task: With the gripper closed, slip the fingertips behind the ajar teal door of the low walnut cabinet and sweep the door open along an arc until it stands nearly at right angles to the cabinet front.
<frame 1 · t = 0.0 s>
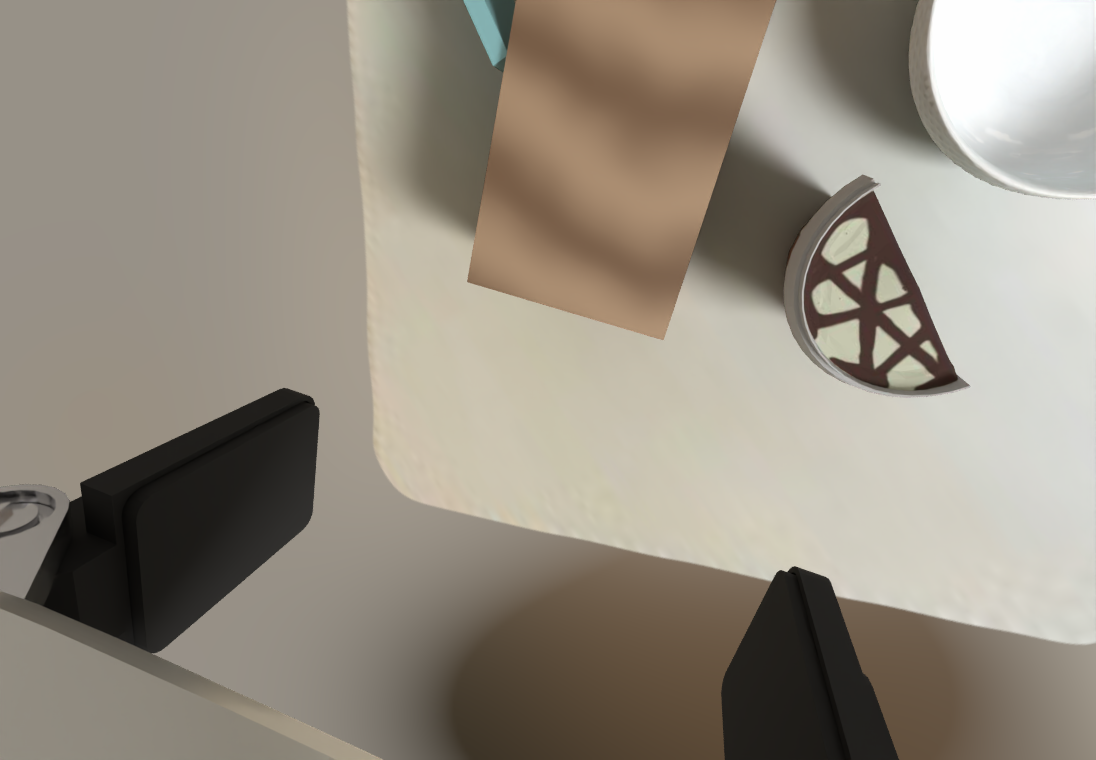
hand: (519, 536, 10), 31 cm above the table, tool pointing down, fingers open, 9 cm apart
cereal bowl: (1049, 36, 29), on the table
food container: (817, 286, 36), on the table
cabinet: (639, 109, 35), on the table
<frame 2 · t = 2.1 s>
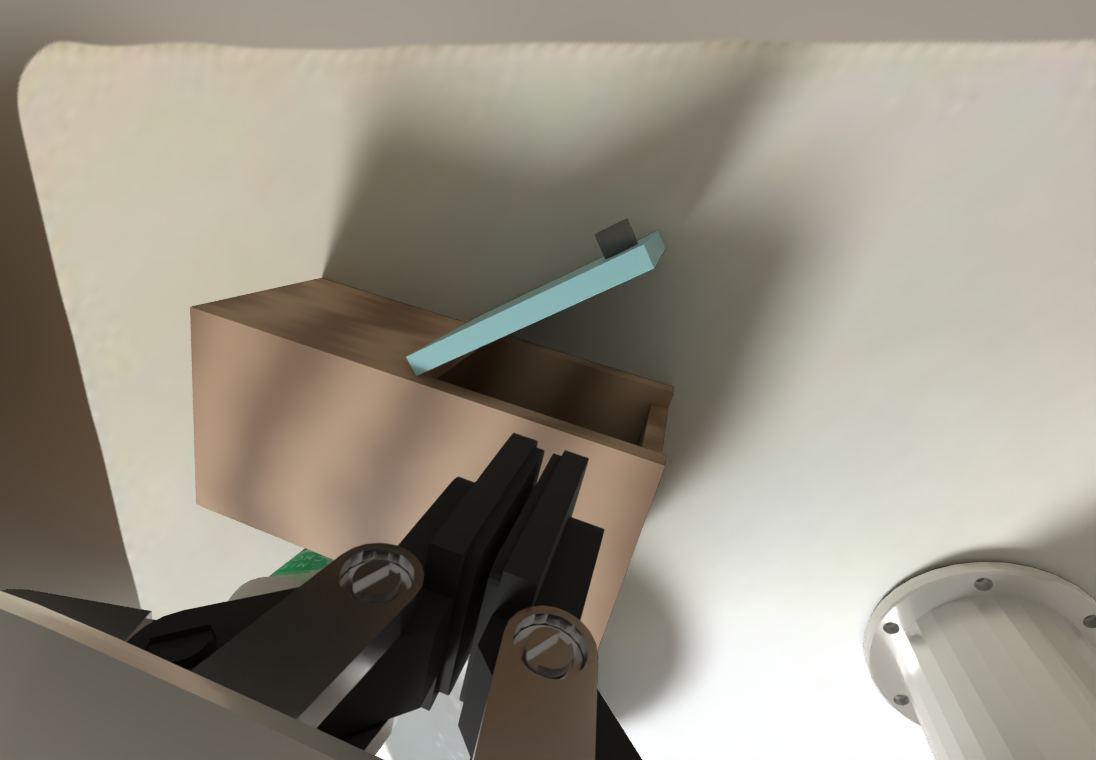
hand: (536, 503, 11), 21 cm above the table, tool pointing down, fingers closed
cereal bowl: (519, 671, 43), on the table
door: (540, 287, 26), point 5 cm above the table, hinge at 40.0°
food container: (349, 543, 43), on the table
cabinet: (471, 412, 36), on the table
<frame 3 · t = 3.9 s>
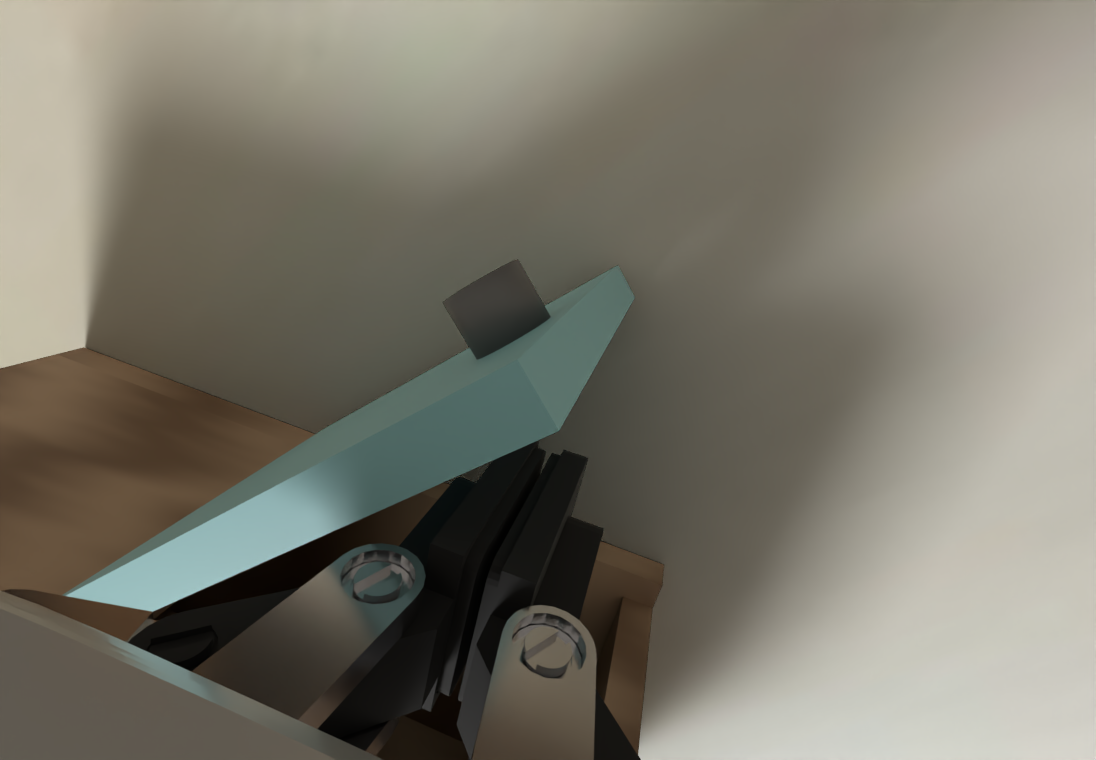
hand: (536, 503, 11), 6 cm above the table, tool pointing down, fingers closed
door: (370, 407, 13), point 5 cm above the table, hinge at 44.9°, touching gripper
cabinet: (333, 569, 22), on the table
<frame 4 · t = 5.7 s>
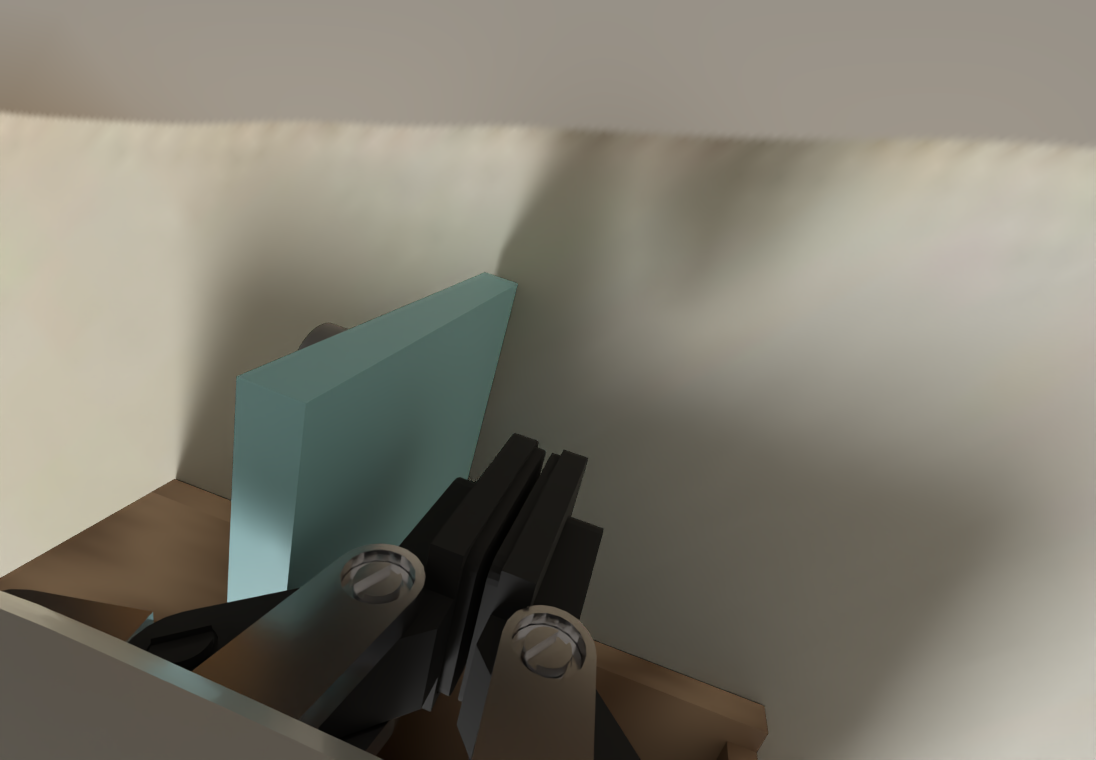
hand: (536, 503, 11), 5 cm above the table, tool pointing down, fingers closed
door: (365, 526, 13), point 5 cm above the table, hinge at 87.5°, touching gripper
cabinet: (422, 689, 22), on the table
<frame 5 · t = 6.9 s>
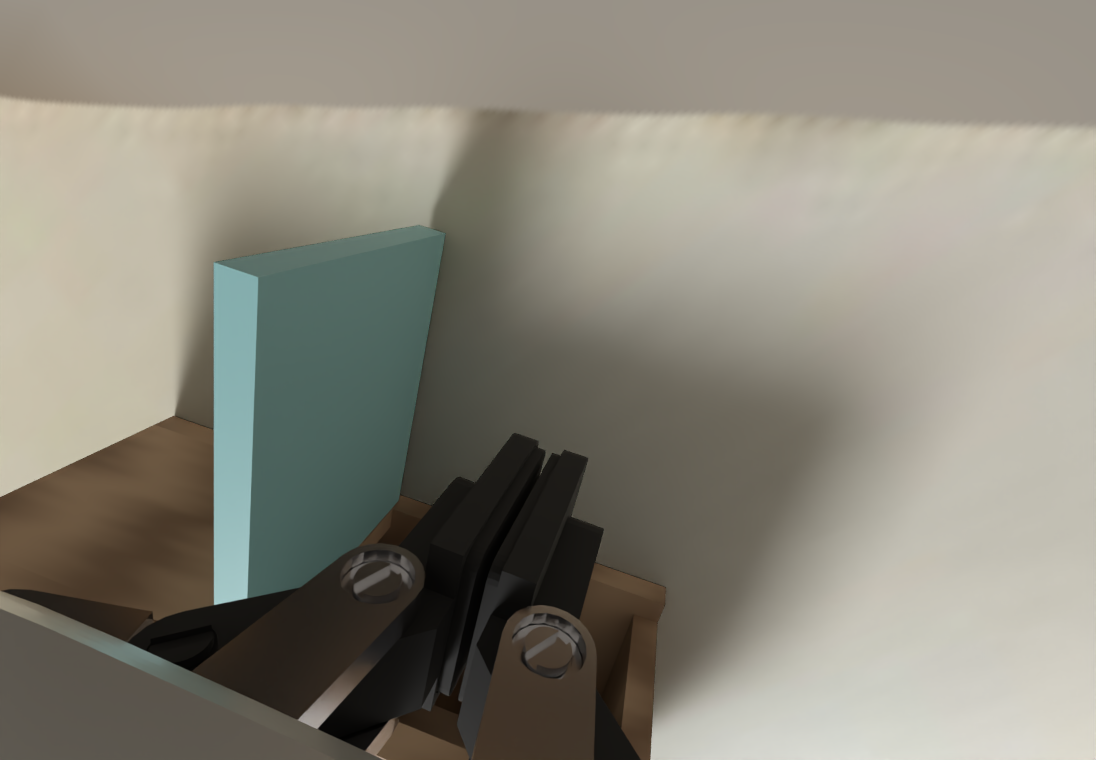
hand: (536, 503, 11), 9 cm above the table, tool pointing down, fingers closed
door: (324, 420, 17), point 5 cm above the table, hinge at 88.1°
cabinet: (390, 594, 26), on the table
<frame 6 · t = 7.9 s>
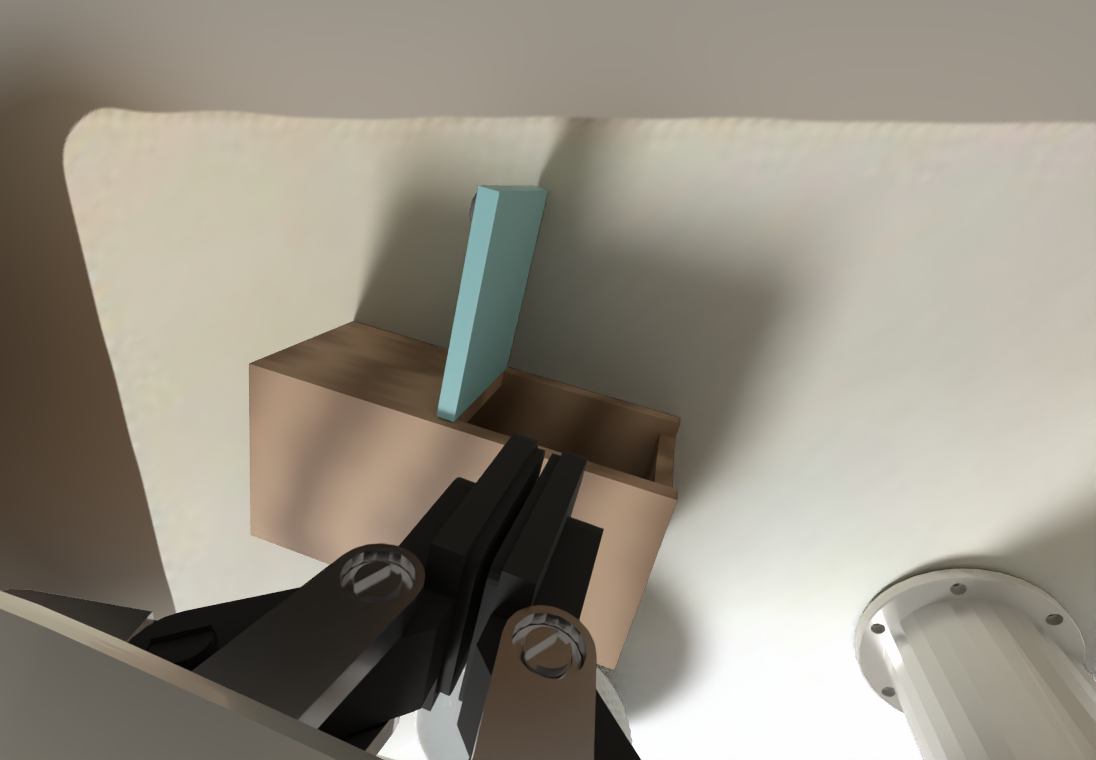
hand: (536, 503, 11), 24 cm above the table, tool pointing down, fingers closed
cereal bowl: (540, 673, 46), on the table
door: (485, 293, 30), point 5 cm above the table, hinge at 88.1°
cabinet: (493, 441, 39), on the table
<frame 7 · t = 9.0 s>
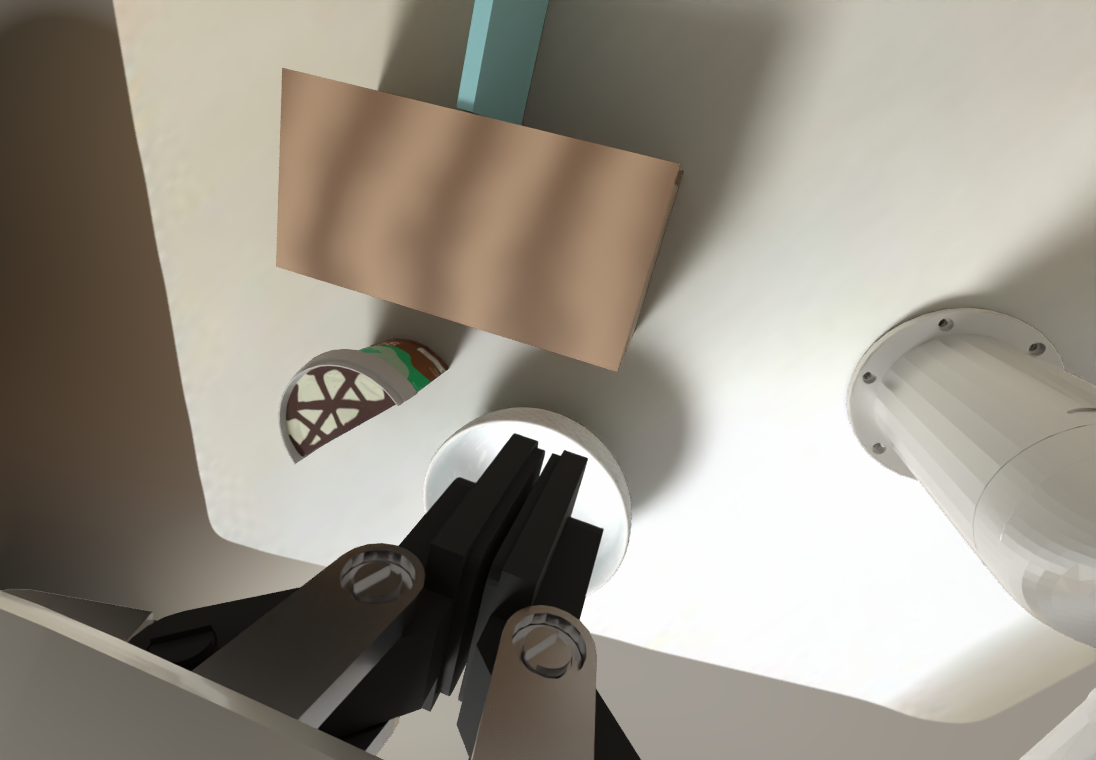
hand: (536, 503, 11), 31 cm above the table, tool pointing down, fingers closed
cereal bowl: (544, 474, 48), on the table
door: (503, 12, 32), point 5 cm above the table, hinge at 88.1°
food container: (392, 361, 48), on the table
cabinet: (505, 215, 41), on the table
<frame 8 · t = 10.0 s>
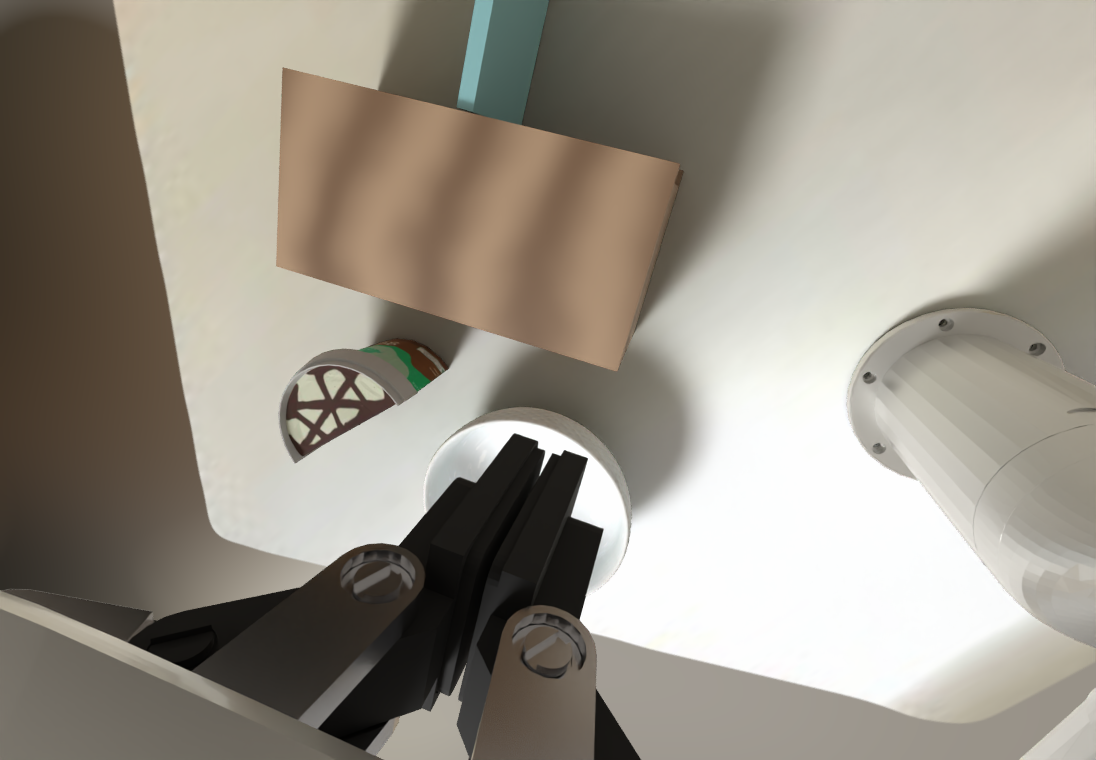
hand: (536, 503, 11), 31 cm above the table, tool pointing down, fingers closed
cereal bowl: (544, 474, 48), on the table
door: (504, 11, 32), point 5 cm above the table, hinge at 88.1°
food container: (392, 361, 48), on the table
cabinet: (506, 215, 41), on the table
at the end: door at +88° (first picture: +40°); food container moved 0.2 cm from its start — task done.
